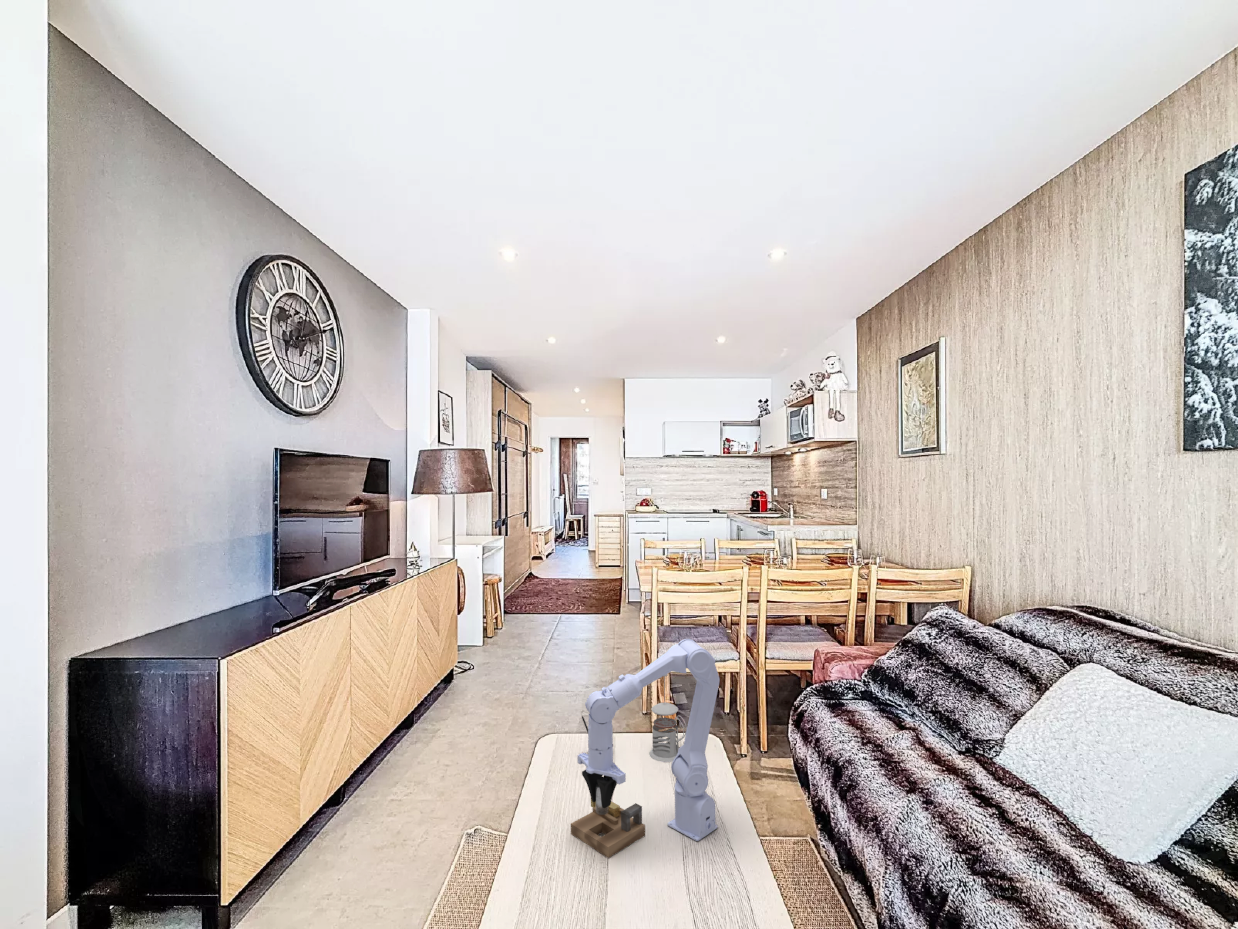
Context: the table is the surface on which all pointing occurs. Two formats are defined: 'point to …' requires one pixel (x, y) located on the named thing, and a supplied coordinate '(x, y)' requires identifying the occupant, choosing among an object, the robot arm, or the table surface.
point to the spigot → (599, 808)
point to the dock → (610, 830)
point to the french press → (669, 749)
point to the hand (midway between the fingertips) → (601, 803)
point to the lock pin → (610, 809)
